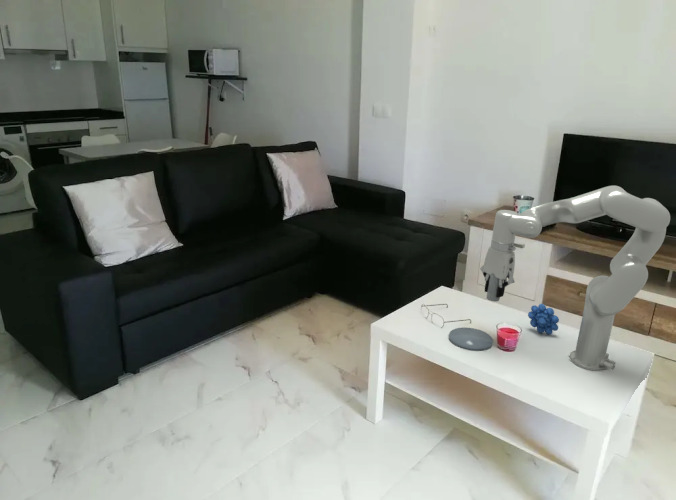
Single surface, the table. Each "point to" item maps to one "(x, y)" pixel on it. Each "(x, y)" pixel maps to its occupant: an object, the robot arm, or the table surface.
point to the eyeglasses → (440, 316)
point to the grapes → (543, 319)
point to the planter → (493, 288)
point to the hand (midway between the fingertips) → (493, 293)
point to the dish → (471, 339)
